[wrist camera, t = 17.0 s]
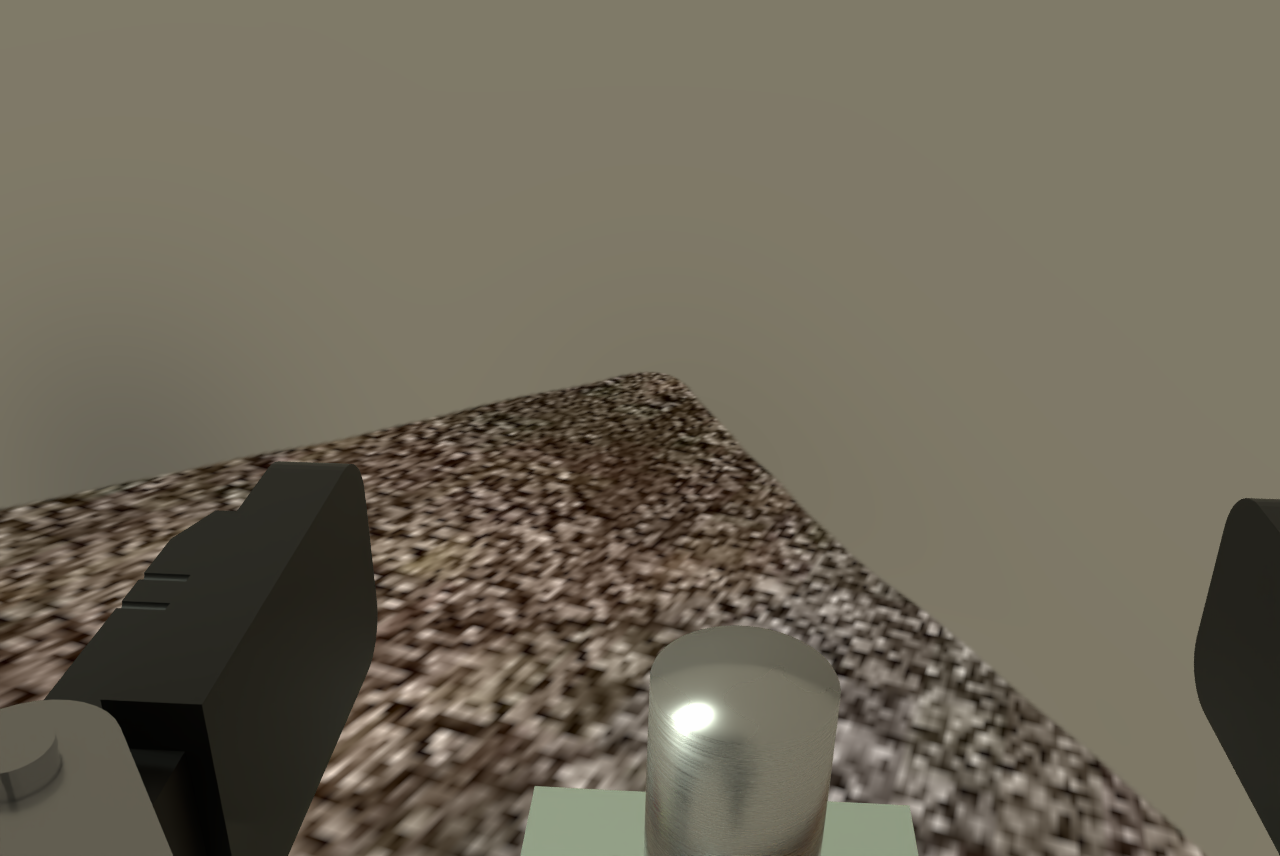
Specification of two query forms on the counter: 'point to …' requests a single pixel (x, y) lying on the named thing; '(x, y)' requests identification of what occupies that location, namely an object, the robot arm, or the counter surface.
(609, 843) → the pale green square frame
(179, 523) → the counter surface
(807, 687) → the steel shaft
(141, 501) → the counter surface
